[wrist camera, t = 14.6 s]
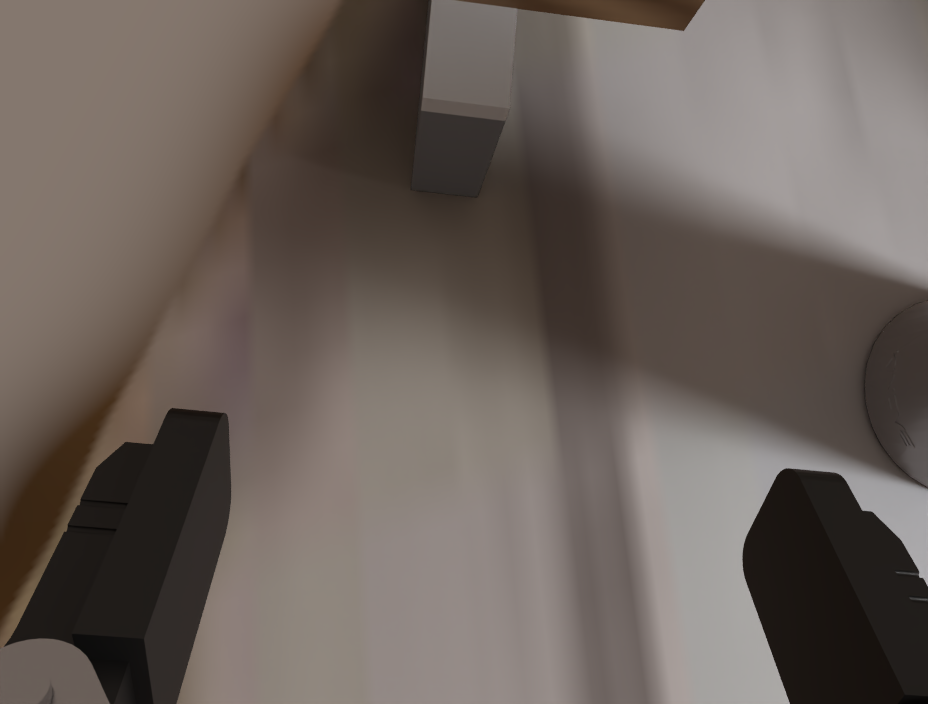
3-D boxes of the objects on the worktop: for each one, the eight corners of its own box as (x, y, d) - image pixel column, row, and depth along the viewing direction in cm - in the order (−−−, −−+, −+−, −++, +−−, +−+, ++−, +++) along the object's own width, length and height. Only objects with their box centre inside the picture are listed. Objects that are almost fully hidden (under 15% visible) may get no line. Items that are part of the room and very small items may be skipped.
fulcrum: (493, -6, 38) (529, -151, 30) (477, 197, 37) (509, 108, 28) (429, -15, 38) (446, -163, 29) (410, 189, 37) (422, 97, 28)
